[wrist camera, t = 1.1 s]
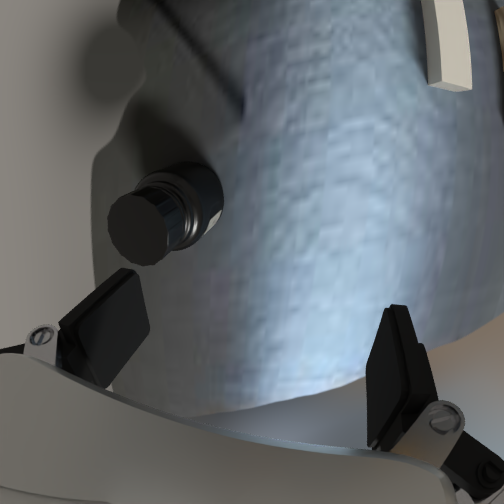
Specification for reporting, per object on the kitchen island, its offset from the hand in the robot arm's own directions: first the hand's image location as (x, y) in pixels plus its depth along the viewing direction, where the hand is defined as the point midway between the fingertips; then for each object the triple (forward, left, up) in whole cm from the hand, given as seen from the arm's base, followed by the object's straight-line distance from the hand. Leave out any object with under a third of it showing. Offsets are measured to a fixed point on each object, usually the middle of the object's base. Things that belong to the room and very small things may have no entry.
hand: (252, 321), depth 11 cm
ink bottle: (+2, -13, -24) cm, 28 cm away
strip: (-18, +16, -24) cm, 34 cm away
